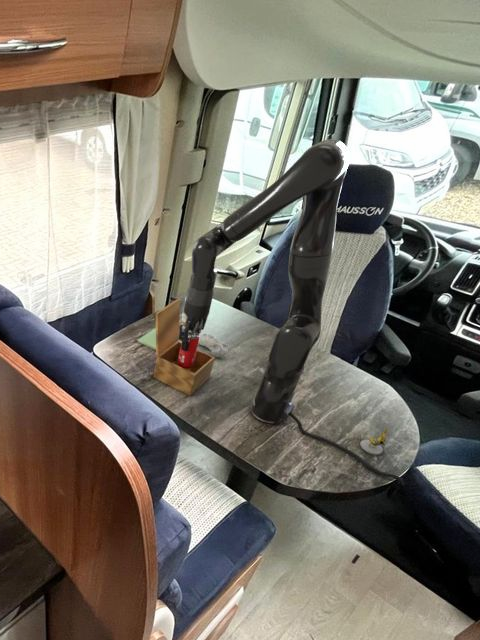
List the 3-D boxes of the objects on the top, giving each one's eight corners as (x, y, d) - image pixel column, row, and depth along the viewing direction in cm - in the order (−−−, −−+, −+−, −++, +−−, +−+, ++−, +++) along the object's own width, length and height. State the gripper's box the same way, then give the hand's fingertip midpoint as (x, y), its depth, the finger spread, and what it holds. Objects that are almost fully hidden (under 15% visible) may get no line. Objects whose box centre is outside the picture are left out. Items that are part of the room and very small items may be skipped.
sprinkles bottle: (179, 329, 176) (185, 299, 168) (179, 323, 179) (186, 293, 171) (191, 331, 175) (198, 300, 167) (191, 325, 179) (198, 295, 170)
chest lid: (179, 299, 145) (177, 298, 146) (157, 313, 138) (155, 313, 138) (179, 340, 153) (177, 339, 154) (158, 356, 146) (155, 355, 146)
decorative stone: (189, 345, 167) (192, 333, 164) (200, 339, 170) (203, 328, 167) (219, 361, 159) (222, 349, 156) (230, 354, 163) (233, 343, 159)
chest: (209, 377, 152) (215, 357, 146) (189, 395, 144) (195, 374, 139) (173, 361, 159) (177, 341, 154) (153, 377, 151) (156, 357, 146)
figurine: (378, 457, 124) (391, 437, 119) (356, 446, 127) (369, 426, 122) (385, 448, 127) (399, 428, 122) (364, 437, 130) (377, 417, 125)
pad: (188, 340, 170) (188, 339, 169) (168, 356, 161) (169, 354, 161) (157, 327, 177) (157, 326, 176) (137, 341, 169) (137, 339, 168)
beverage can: (178, 359, 151) (184, 329, 143) (194, 362, 149) (200, 331, 142) (176, 367, 147) (182, 337, 139) (192, 370, 145) (198, 340, 138)
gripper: (198, 312, 127) (187, 360, 137) (221, 295, 135) (210, 341, 146) (175, 303, 131) (167, 351, 141) (199, 287, 139) (190, 333, 150)
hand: (189, 346), depth 143 cm, fingers closed on beverage can, 5 cm apart
